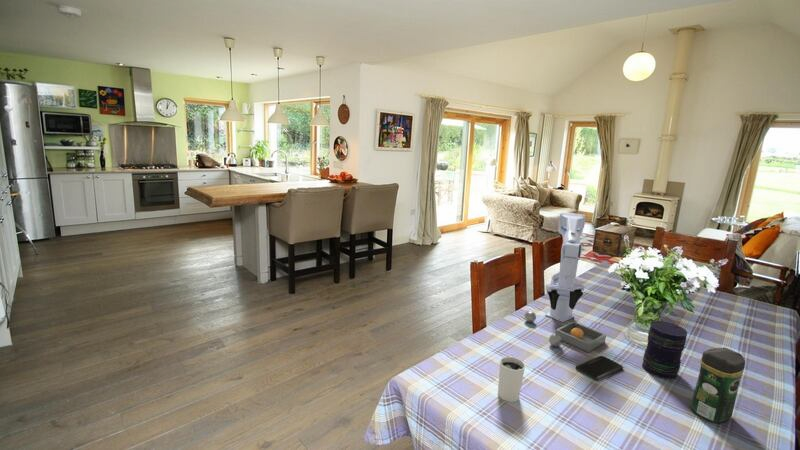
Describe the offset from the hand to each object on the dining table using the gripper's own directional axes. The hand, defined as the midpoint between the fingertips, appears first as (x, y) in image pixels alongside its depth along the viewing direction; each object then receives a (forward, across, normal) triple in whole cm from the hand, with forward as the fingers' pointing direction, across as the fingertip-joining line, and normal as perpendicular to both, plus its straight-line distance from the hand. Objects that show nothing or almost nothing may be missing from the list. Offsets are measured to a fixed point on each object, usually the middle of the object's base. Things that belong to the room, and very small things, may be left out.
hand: (562, 308), depth 147 cm
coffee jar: (+9, +16, -48) cm, 51 cm away
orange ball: (+7, +2, -7) cm, 10 cm away
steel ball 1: (+7, -8, +8) cm, 13 cm away
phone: (+10, -1, -25) cm, 27 cm away
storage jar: (+9, +18, -28) cm, 35 cm away
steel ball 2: (+7, -8, -10) cm, 15 cm away
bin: (+9, +4, -7) cm, 12 cm away
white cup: (+9, -37, -34) cm, 51 cm away
